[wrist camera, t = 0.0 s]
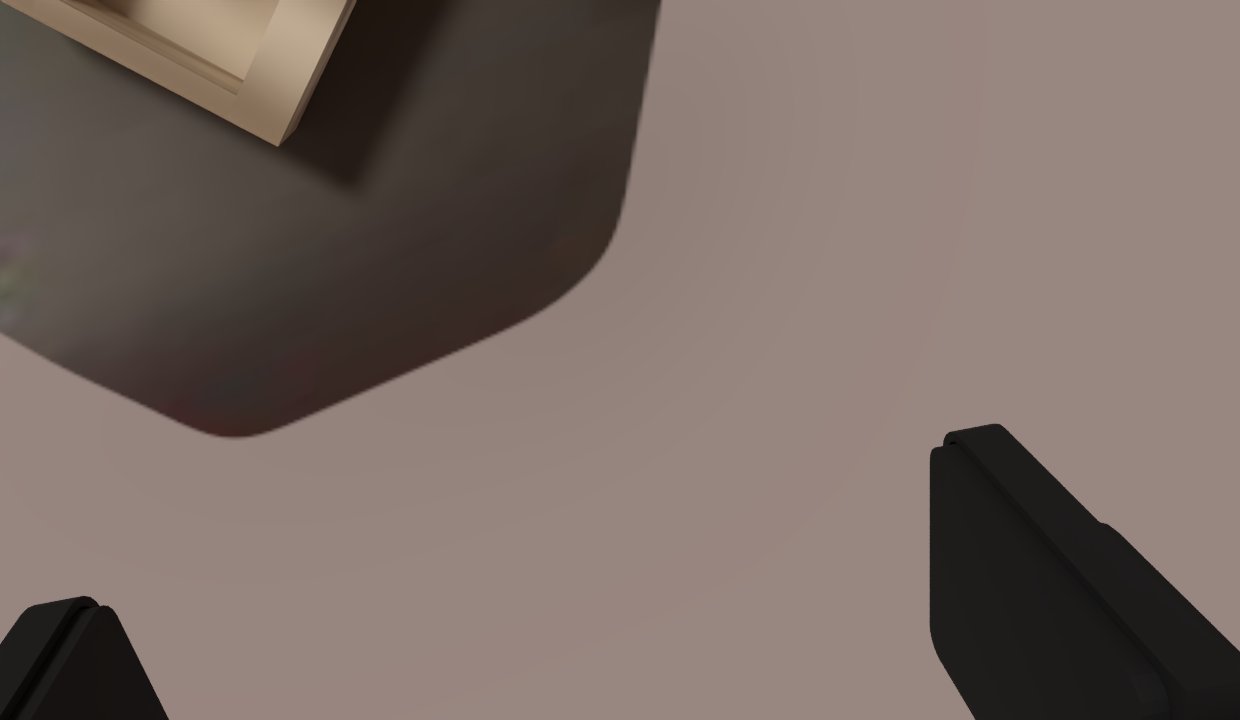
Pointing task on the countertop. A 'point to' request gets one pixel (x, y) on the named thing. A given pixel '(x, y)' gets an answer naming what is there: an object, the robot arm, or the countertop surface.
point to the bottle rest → (213, 49)
